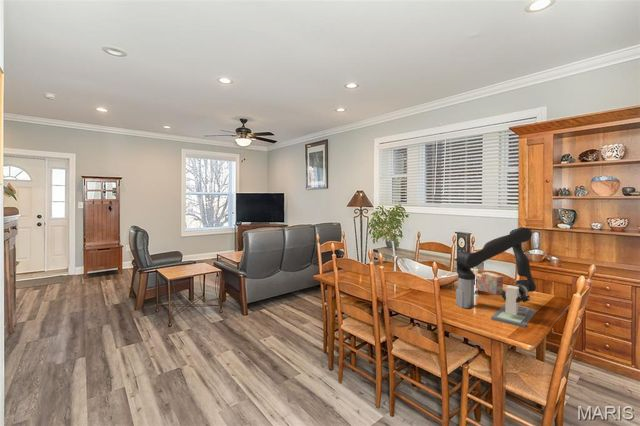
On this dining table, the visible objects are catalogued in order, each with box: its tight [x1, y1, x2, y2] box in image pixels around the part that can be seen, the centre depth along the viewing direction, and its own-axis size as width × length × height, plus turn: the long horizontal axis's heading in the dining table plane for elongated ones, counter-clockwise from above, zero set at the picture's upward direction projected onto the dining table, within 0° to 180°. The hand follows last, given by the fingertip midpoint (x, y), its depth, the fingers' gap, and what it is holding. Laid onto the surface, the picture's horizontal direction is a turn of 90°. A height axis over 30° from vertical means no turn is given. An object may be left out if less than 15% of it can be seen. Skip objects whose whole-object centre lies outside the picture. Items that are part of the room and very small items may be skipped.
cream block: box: [504, 284, 519, 315], centre depth 172 cm, size 5×5×14 cm
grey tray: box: [490, 304, 537, 329], centre depth 178 cm, size 28×16×3 cm, turn 136°
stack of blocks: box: [476, 271, 504, 296], centre depth 225 cm, size 21×6×12 cm, turn 23°
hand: (510, 299), depth 170 cm, fingers closed on cream block, 5 cm apart
